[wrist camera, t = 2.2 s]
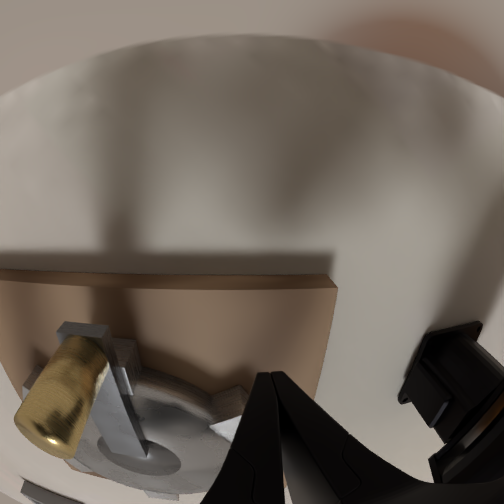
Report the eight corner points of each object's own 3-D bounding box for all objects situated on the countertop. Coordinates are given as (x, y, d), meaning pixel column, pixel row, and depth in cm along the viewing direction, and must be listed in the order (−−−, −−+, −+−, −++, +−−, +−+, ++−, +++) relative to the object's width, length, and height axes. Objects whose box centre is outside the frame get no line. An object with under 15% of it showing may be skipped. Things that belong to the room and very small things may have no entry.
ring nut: (270, 301, 12) (316, 442, 5) (253, 480, 17) (263, 550, 10) (-2, 289, 10) (-80, 358, 4) (87, 464, 15) (71, 525, 9)
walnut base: (326, 274, 13) (338, 288, 12) (283, 474, 19) (285, 488, 18) (-17, 267, 11) (-32, 277, 10) (75, 458, 17) (71, 469, 16)
